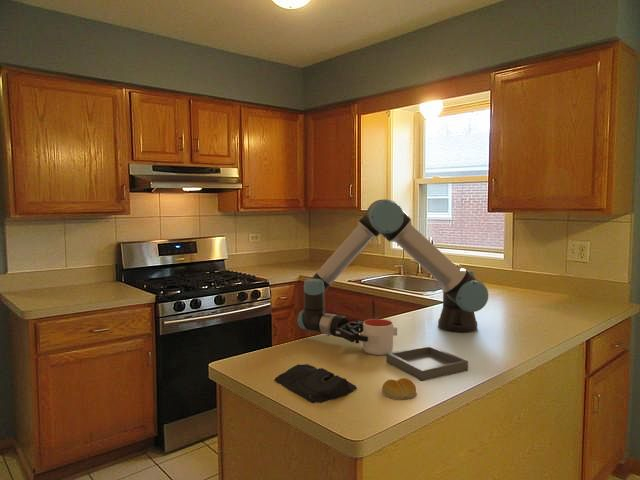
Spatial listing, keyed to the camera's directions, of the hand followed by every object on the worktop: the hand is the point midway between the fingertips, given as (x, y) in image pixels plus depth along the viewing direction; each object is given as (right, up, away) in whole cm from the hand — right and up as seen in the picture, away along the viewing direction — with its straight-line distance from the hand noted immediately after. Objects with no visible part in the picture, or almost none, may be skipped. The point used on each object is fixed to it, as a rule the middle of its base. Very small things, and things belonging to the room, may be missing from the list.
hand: (387, 335), depth 158 cm
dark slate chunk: (-24, -9, -26) cm, 37 cm away
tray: (+10, -7, -12) cm, 17 cm away
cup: (-3, -6, +3) cm, 7 cm away
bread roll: (-1, -9, -32) cm, 33 cm away
